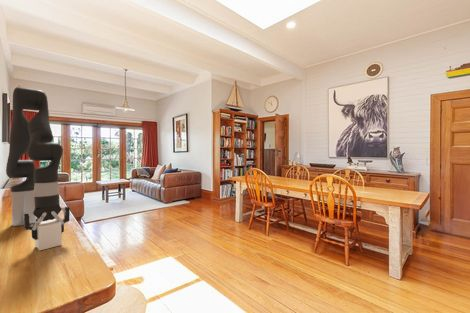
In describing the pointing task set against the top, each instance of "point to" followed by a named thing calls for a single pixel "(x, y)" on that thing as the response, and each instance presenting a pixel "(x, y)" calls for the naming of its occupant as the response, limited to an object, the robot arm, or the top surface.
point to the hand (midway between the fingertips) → (48, 236)
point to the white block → (48, 234)
